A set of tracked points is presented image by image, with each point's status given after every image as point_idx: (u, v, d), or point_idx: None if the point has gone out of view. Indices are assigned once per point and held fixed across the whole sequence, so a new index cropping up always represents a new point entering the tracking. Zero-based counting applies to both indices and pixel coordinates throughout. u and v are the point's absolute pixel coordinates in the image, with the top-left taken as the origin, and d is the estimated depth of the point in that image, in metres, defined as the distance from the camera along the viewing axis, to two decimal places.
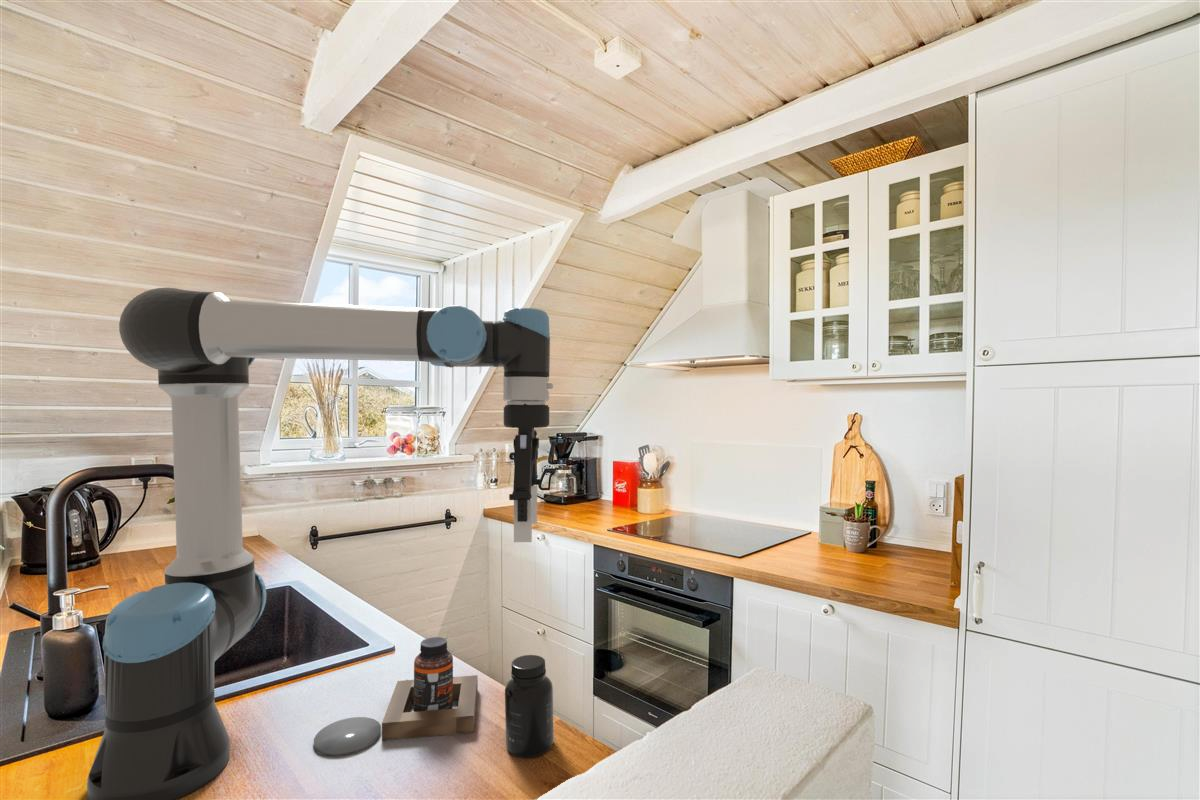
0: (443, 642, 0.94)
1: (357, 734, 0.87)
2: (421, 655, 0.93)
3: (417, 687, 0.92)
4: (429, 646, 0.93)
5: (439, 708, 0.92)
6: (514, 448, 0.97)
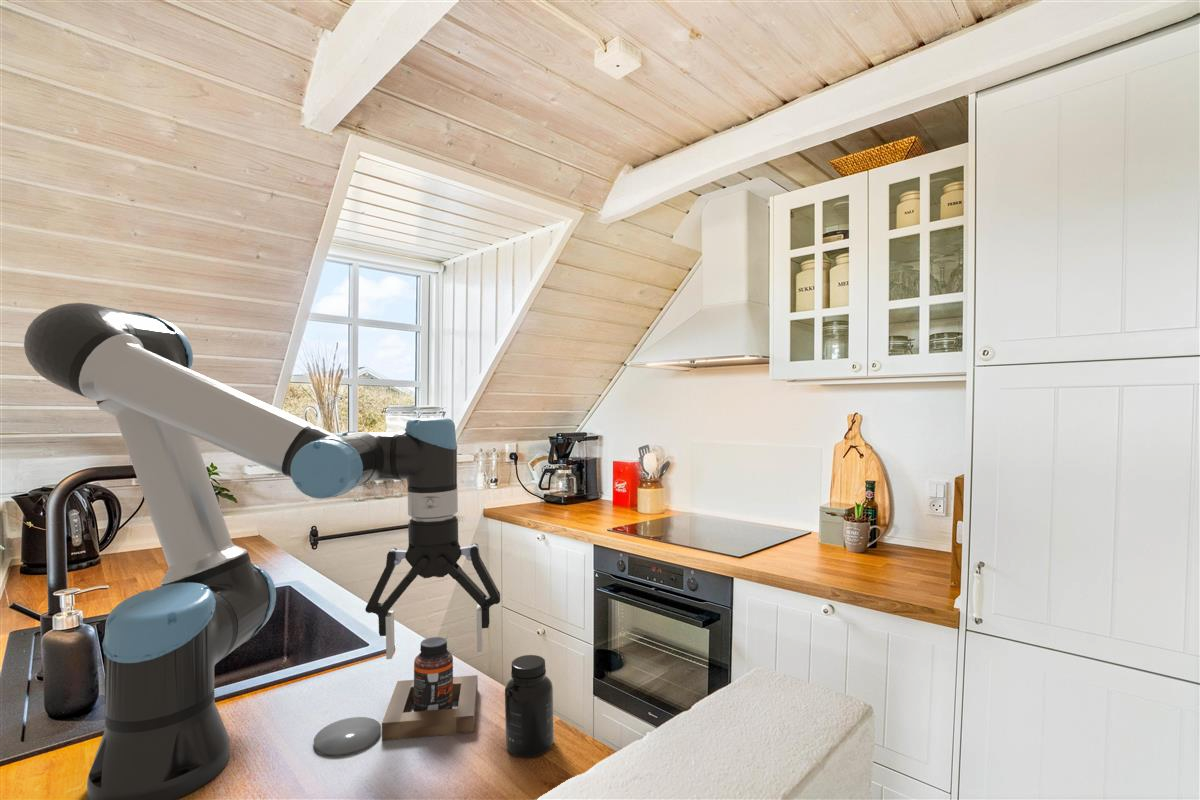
0: (443, 642, 0.94)
1: (357, 734, 0.87)
2: (421, 655, 0.93)
3: (417, 687, 0.92)
4: (429, 646, 0.93)
5: (439, 708, 0.92)
6: None
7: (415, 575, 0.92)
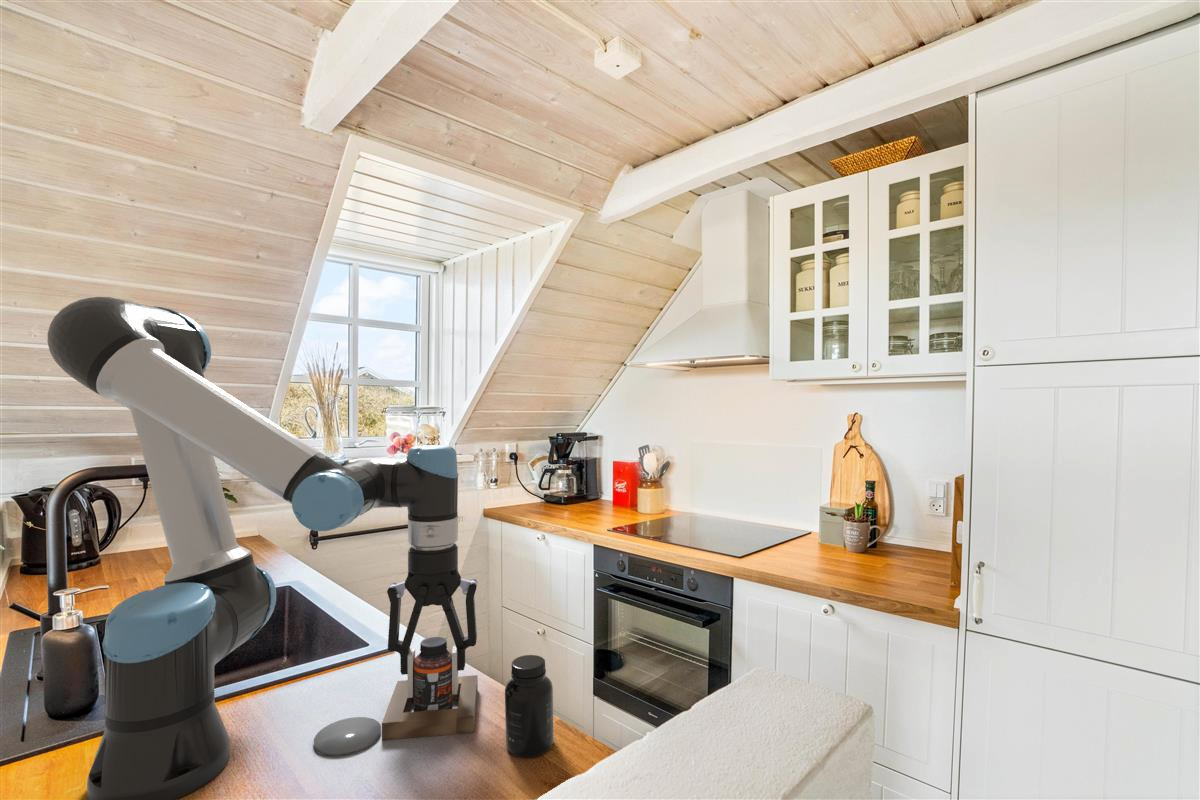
0: (443, 642, 0.94)
1: (357, 734, 0.87)
2: (421, 655, 0.93)
3: (417, 687, 0.92)
4: (429, 646, 0.93)
5: (439, 707, 0.92)
6: None
7: (420, 605, 0.92)
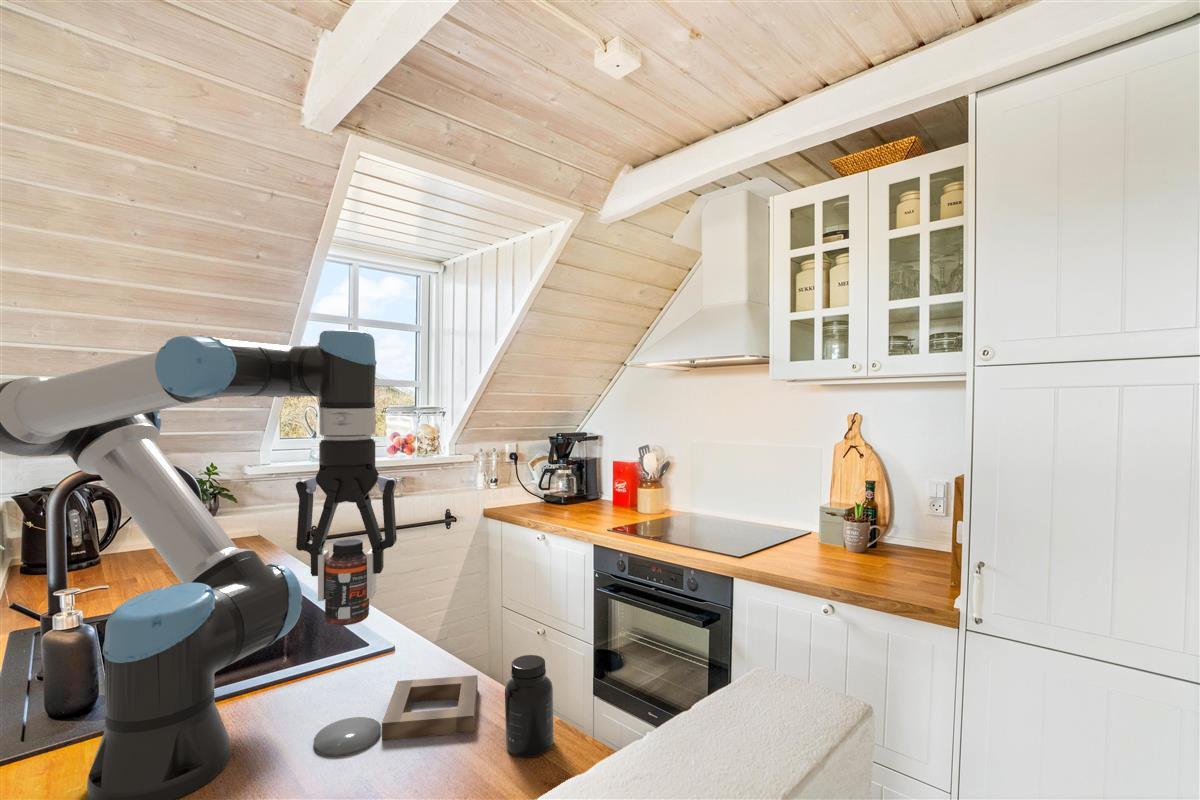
0: (358, 542, 0.87)
1: (357, 734, 0.87)
2: (333, 555, 0.86)
3: (328, 588, 0.85)
4: (341, 545, 0.86)
5: (351, 611, 0.85)
6: None
7: (332, 501, 0.86)
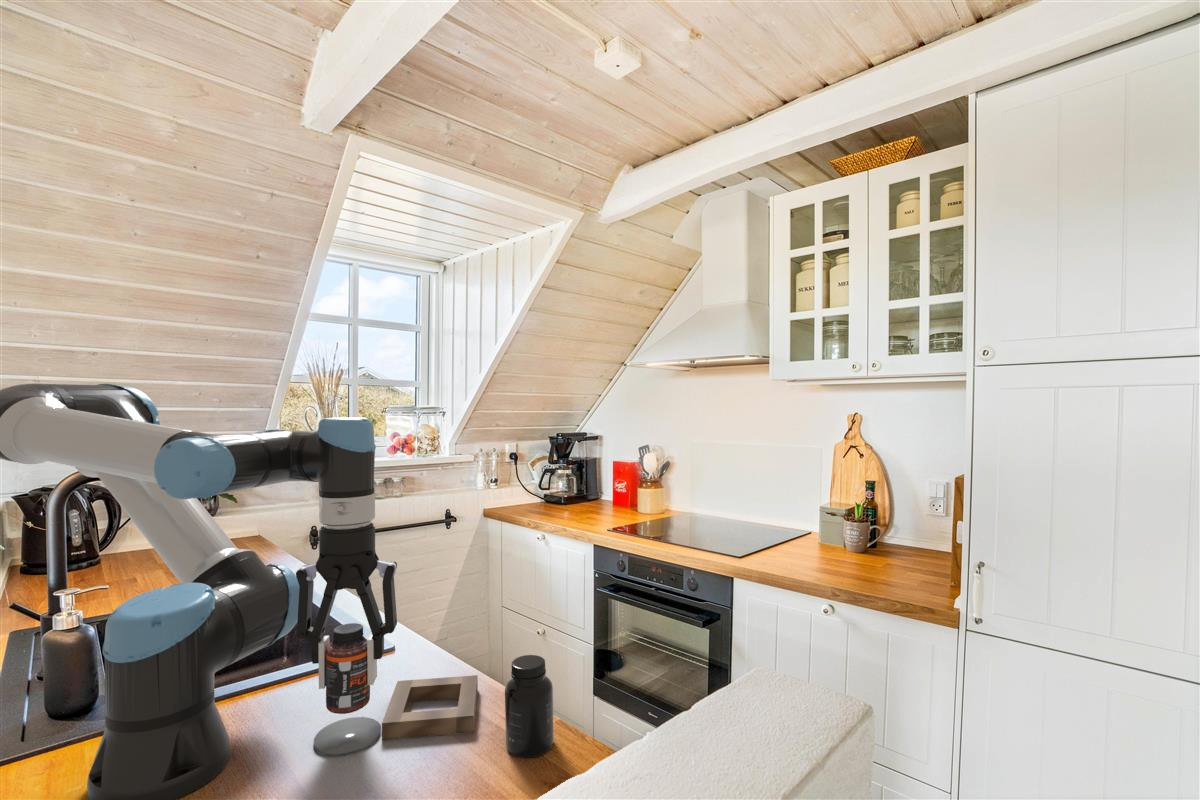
0: (358, 628, 0.87)
1: (357, 734, 0.87)
2: (333, 643, 0.86)
3: (328, 677, 0.85)
4: (342, 633, 0.86)
5: (352, 699, 0.85)
6: None
7: (332, 589, 0.86)
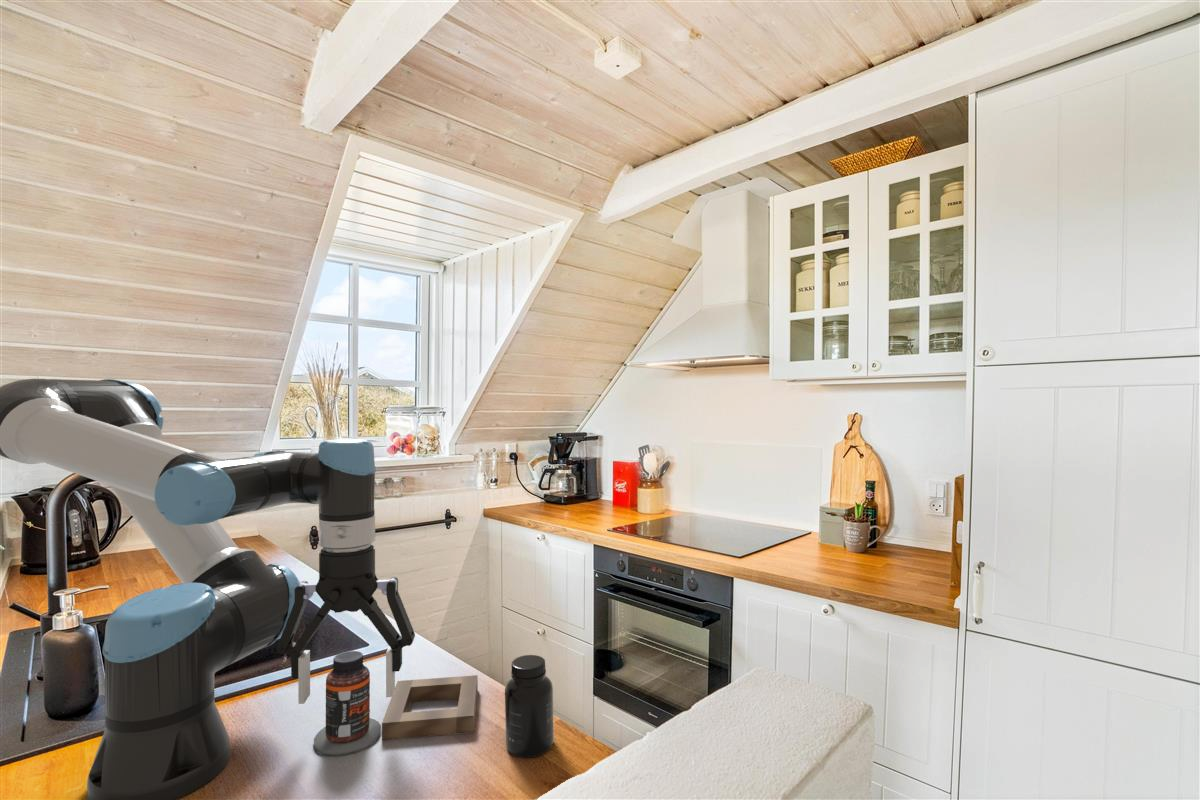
0: (358, 657, 0.87)
1: None
2: (333, 671, 0.86)
3: (328, 706, 0.85)
4: (342, 662, 0.86)
5: (352, 728, 0.85)
6: None
7: (327, 610, 0.85)
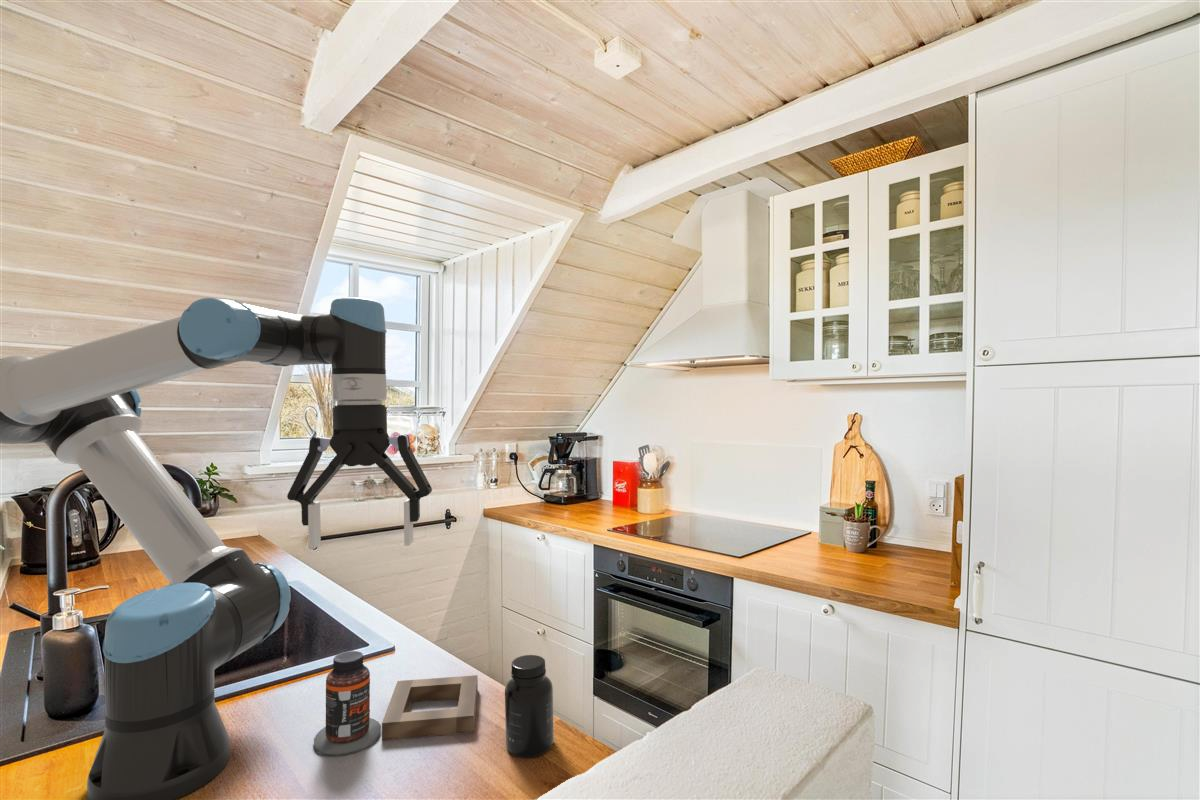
0: (358, 657, 0.87)
1: None
2: (333, 671, 0.86)
3: (328, 706, 0.85)
4: (342, 662, 0.86)
5: (352, 728, 0.85)
6: None
7: (339, 462, 0.88)
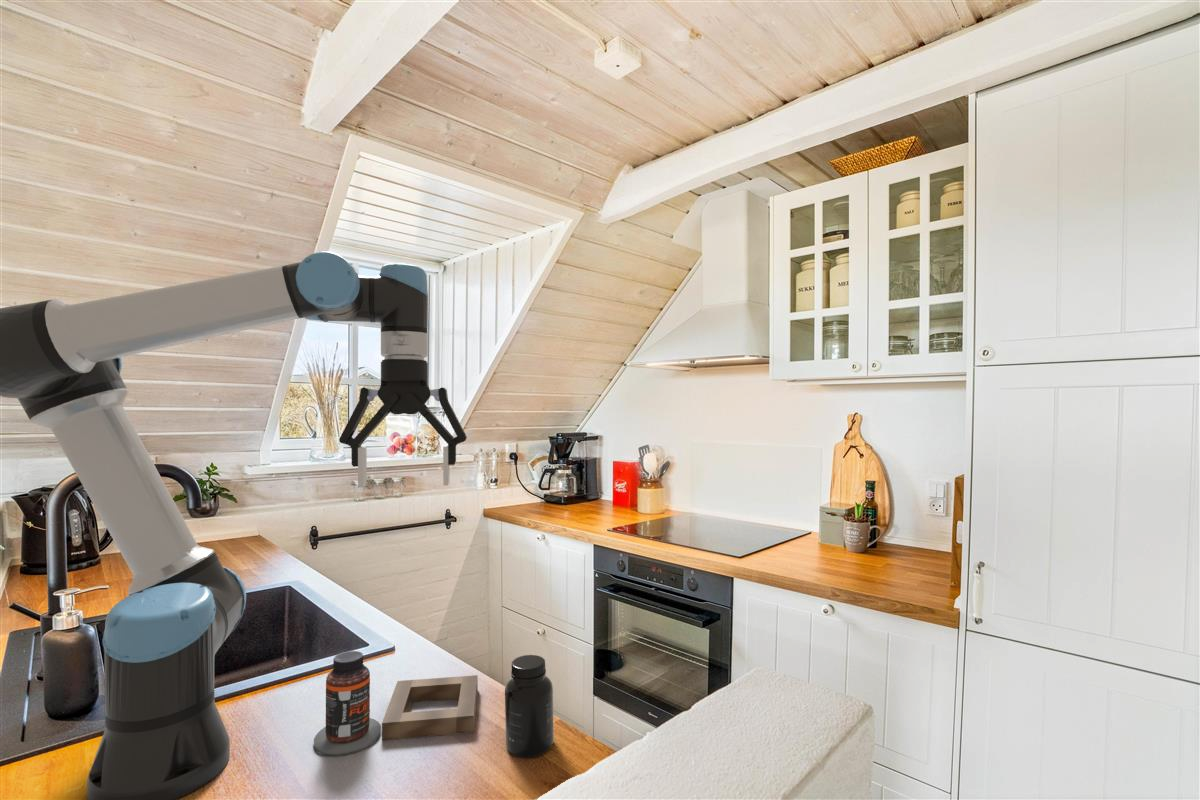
0: (358, 657, 0.87)
1: None
2: (333, 671, 0.86)
3: (328, 706, 0.85)
4: (342, 662, 0.86)
5: (352, 728, 0.85)
6: None
7: (386, 410, 0.99)
